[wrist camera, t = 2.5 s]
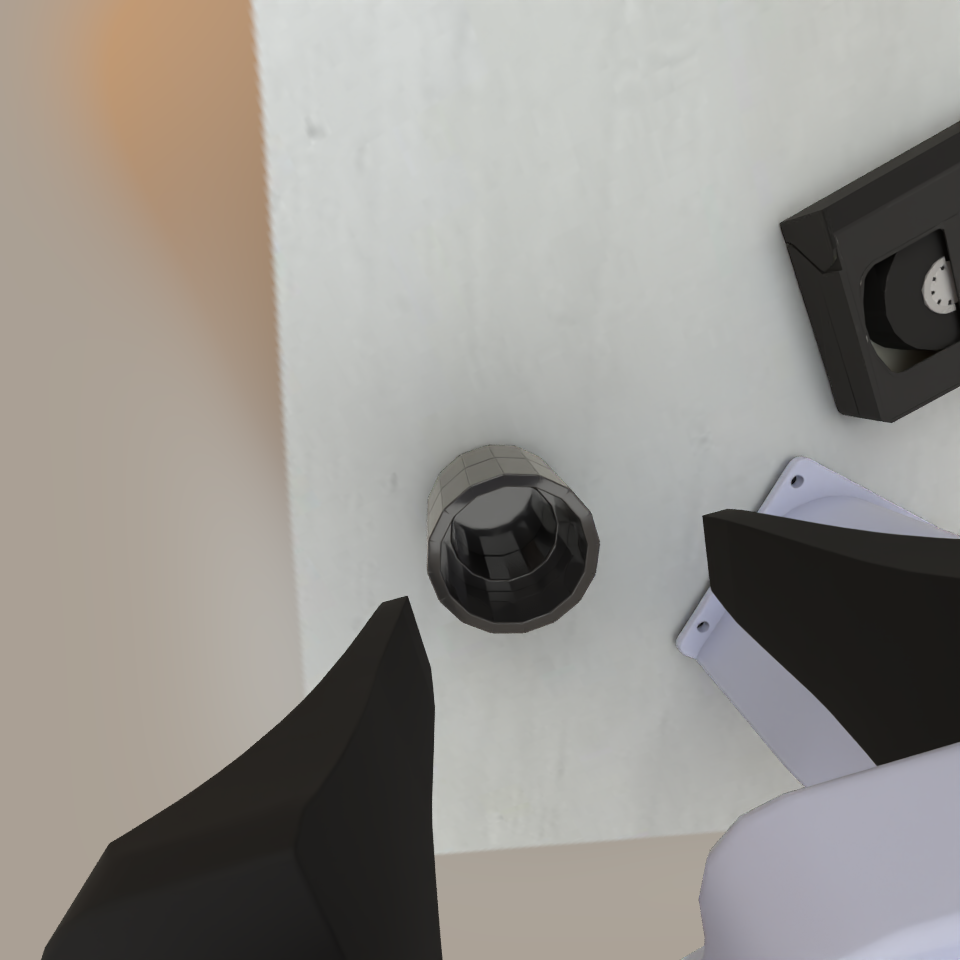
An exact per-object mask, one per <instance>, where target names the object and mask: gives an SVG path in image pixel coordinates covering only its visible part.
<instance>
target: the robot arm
mask: <svg viewBox="0 0 960 960" xmlns="http://www.w3.org/2000/svg"><path fill="white" fill-rule="evenodd" d="M795 476H796V478H797V479H796V481H795V482H794V483H793V484H792V485H791V481H792V479H793V478H794V477H795ZM702 517H703V526H704V535H705V543H706V552H707V561H708V570H709V579H710V587H709V589H708V590H707V592H706V593H705V595H704V597H703V598H702V600H701V601H700V603H699V604H698V606H697V608H696V609H695V611H694V612H693V614H692V615H691V617H690V619H689V620H688V622H687V623H686V625H685V626H684V628H683V630H682V631H681V633H680V634H679V636H678V637H677V640H676V647H677V648H678V650H679V651H680V652H681V653H682V654H683V655H685V656H688V657H690V658H693V659H695V660H697V662H698V663H699V664H700V665H701V666H702V668H703V669H704V670H705V671H706V672H707V674H708V675H709V676H710V677H711V678H712V680H713V681H714V682H715V683H716V684H717V686H718V687H719V688H720V689H721V690H722V692H723V693H724V694H725V695H726V696H727V698H728V699H729V700H730V701H731V702H732V704H733V705H734V706H735V707H736V709H737V710H738V711H739V712H740V713H741V715H742V716H743V717H744V718H745V719H746V721H747V722H748V723H749V724H750V725H751V727H752V728H753V729H754V730H755V731H756V733H757V734H758V735H759V736H760V737H761V739H762V740H763V741H764V742H765V743H766V745H767V746H768V747H769V748H770V749H771V751H772V752H773V753H774V754H775V755H776V757H777V758H778V759H779V760H780V761H781V762H782V763H783V765H784V766H785V767H786V768H787V769H788V770H789V771H790V772H791V773H792V774H793V775H794V776H795V777H796V778H797V779H798V780H799V781H800V782H801V783H802V784H803V785H804V786H805V788H801V789H798V790H794V791H791V792H787V793H784V794H782V795H780V796H778V797H776V798H774V799H772V800H770V801H768V802H766V803H764V804H762V805H760V806H758V807H756V808H754V809H752V810H751V811H749V812H747V813H745V814H743V815H741V816H739V817H738V818H737V820H736V821H735V822H734V823H733V824H732V825H731V827H730V828H729V829H728V830H727V831H726V832H725V834H724V835H723V836H722V837H721V838H720V839H719V841H718V842H717V843H716V844H715V845H714V846H713V847H712V849H711V850H710V852H709V855H708V857H707V861H706V865H705V871H704V875H703V880H702V886H701V891H700V896H699V903H700V910H701V917H702V923H703V929H704V936H705V944H704V946H703V947H701V948H699V949H698V950H696V951H694V952H692V953H691V954H689V955H687V956H685V957H684V958H682V959H680V960H960V536H959V535H956V534H953V533H951V532H948V531H945V530H943V529H940V528H938V527H937V526H935V525H933V524H932V523H930V522H928V521H926V520H924V519H922V518H920V517H918V516H917V515H915V514H913V513H911V512H909V511H907V510H905V509H904V508H902V507H900V506H898V505H896V504H894V503H892V502H890V501H889V500H887V499H885V498H883V497H881V496H879V495H877V494H876V493H874V492H872V491H870V490H868V489H866V488H864V487H862V486H861V485H859V484H857V483H855V482H853V481H851V480H849V479H848V478H846V477H844V476H842V475H840V474H838V473H836V472H834V471H833V470H831V469H829V468H827V467H825V466H823V465H821V464H820V463H818V462H816V461H814V460H812V459H810V458H807V457H803V456H798V457H795V458H793V459H792V460H791V461H790V462H789V463H788V465H787V466H786V468H785V470H784V471H783V473H782V474H781V476H780V477H779V479H778V481H777V482H776V484H775V485H774V487H773V488H772V490H771V492H770V493H769V495H768V496H767V498H766V499H765V501H764V503H763V504H762V506H761V507H760V509H759V510H758V512H751V511H744V510H735V509H725V510H722V511H718V512H714V513H711V514H707V515H703V516H702ZM701 622H704V623H703V625H702V626H700V627H698V625H699V624H700V623H701ZM434 722H435V704H434V692H433V683H432V673H431V667H430V663H429V660H428V657H427V654H426V651H425V648H424V645H423V642H422V639H421V636H420V633H419V629H418V626H417V623H416V620H415V617H414V614H413V611H412V608H411V605H410V602H409V598H408V596H405V597H401V598H397V599H394V600H390V601H386V602H383V603H381V605H380V606H379V607H378V608H377V610H376V611H375V612H374V614H373V615H372V616H371V618H370V619H369V621H368V622H367V623H366V625H365V626H364V628H363V629H362V630H361V632H360V633H359V634H358V636H357V637H356V638H355V640H354V641H353V642H352V644H351V645H350V646H349V648H348V649H347V650H346V652H345V653H344V654H343V655H342V656H341V658H340V659H339V660H338V661H337V662H336V664H335V665H334V666H333V667H332V668H331V670H330V671H329V672H328V673H327V674H326V676H325V677H324V678H323V679H322V680H321V682H320V683H319V684H318V685H317V686H316V687H315V688H314V689H313V690H312V691H311V692H310V693H309V694H308V696H307V697H306V698H305V699H304V700H303V701H302V702H301V703H300V704H299V705H298V706H297V707H296V708H295V709H293V710H292V711H291V712H290V714H288V715H287V716H286V717H285V718H284V719H283V720H282V721H281V722H280V723H279V724H277V725H276V726H275V727H274V728H273V729H272V730H270V731H269V732H268V733H267V734H266V735H265V736H263V737H262V738H261V739H260V740H259V741H257V742H256V743H255V744H254V745H253V746H252V747H250V748H249V749H248V750H247V751H246V752H245V753H243V754H242V755H241V756H240V757H238V758H237V759H236V760H234V761H233V762H232V763H230V764H229V765H228V766H226V767H225V768H224V769H223V770H221V771H220V772H219V773H217V774H216V775H214V776H213V777H212V778H210V779H209V780H207V781H206V782H205V783H203V784H202V785H200V786H199V787H198V788H196V789H195V790H193V791H192V792H190V793H189V794H187V795H186V796H184V797H183V798H181V799H180V800H179V801H177V802H175V803H174V804H172V805H171V806H169V807H168V808H166V809H164V810H163V811H161V812H160V813H158V814H156V815H155V816H153V817H152V818H150V819H148V820H147V821H145V822H144V823H142V824H140V825H139V826H137V827H136V828H134V829H132V830H131V831H129V832H128V833H126V834H124V835H123V836H121V837H119V838H118V839H116V840H114V841H113V842H111V843H110V844H109V845H108V846H107V848H106V850H105V852H104V853H103V855H102V856H101V858H100V860H99V862H98V863H97V865H96V866H95V868H94V869H93V871H92V872H91V874H90V876H89V877H88V879H87V880H86V882H85V884H84V886H83V887H82V889H81V890H80V892H79V893H78V895H77V897H76V898H75V900H74V902H73V903H72V905H71V907H70V908H69V910H68V911H67V913H66V915H65V916H64V918H63V920H62V921H61V923H60V924H59V926H58V927H57V929H56V931H55V932H54V934H53V936H52V937H51V939H50V940H49V942H48V944H47V945H46V947H45V950H44V953H43V955H42V959H41V960H442V949H441V938H440V926H439V914H438V900H437V888H436V875H435V860H434V844H433V829H432V787H433V756H434Z"/></svg>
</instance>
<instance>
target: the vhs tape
mask: <svg viewBox="0 0 960 960" xmlns="http://www.w3.org/2000/svg"><path fill="white" fill-rule="evenodd" d="M780 225H781V228H782V231H783V235H784V238H785V241H786V243H789V242H790V244H789V245H787V247H788V251H789V254H790V257H791V260H792V263H793V267H794V270H795V273H796V276H797V279H798V282H799V286H800V289H801V292H802V295H803V298H804V301H805V305H806V308H807V311H808V314H809V317H810V321H811V324H812V327H813V330H814V333H815V336H816V340H817V343H818V346H819V349H820V352H821V356H822V359H823V362H824V365H825V368H826V371H827V375H828V376H829V379H830V382H831V385H832V387H831V388H832V391H833V395H834V398H835V401H836V405H837V408H838V411H839V412H841V413H842V414H843V415H848V416H853V417H859V418H864V419H870V420H876V421H882V422H889V423H893V422H895V421H896V420H898V419H900V418H902V417H904V416H906V415H908V414H909V413H911V412H913V411H915V410H917V409H919V408H920V407H922V406H924V405H926V404H928V403H930V402H932V401H933V400H935V399H937V398H939V397H941V396H943V395H945V394H946V393H948V392H950V391H952V390H954V389H956V388H958V387H959V386H960V121H959V122H957V123H956V124H954V125H952V126H950V127H949V128H947V129H945V130H943V131H942V132H940V133H938V134H936V135H934V136H933V137H931V138H929V139H927V140H926V141H924V142H922V143H920V144H919V145H917V146H915V147H913V148H912V149H910V150H908V151H906V152H904V153H903V154H901V155H899V156H897V157H896V158H894V159H892V160H890V161H889V162H887V163H885V164H883V165H882V166H880V167H878V168H876V169H874V170H873V171H871V172H869V173H867V174H866V175H864V176H862V177H860V178H859V179H857V180H855V181H853V182H852V183H850V184H848V185H846V186H844V187H843V188H841V189H839V190H837V191H836V192H834V193H832V194H830V195H829V196H827V197H825V198H823V199H822V200H820V201H818V202H816V203H814V204H813V205H811V206H809V207H807V208H806V209H804V210H802V211H800V212H799V213H797V214H795V215H793V216H792V217H790V218H788V219H786V220H784V221H783V222H781V223H780Z"/></svg>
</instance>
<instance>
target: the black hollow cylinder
mask: <svg viewBox="0 0 960 960" xmlns="http://www.w3.org/2000/svg"><path fill="white" fill-rule="evenodd" d="M599 547H600V541H599V537H598V534H597V530H596V527H595V524H594V520H593V517H592V514H591V512H590V511H589V509H588V508H587V507H586V506H585V505H584V504H583V503H582V501H581V500H580V499H579V498H578V497H577V496H576V495H575V493H574V492H573V491H572V490H571V489H570V488H569V487H568V486H567V485H566V484H565V483H564V481H563V480H562V479H561V478H560V477H559V476H558V475H557V474H556V473H555V472H554V471H553V470H552V469H551V468H550V467H549V466H548V465H547V463H546V462H545V461H544V460H543V459H542V458H540V457H539V456H537V455H534V454H532V453H530V452H528V451H526V450H524V449H522V448H519V447H516V446H509V445H488V446H483V447H480V448H478V449H475V450H472V451H469V452H466V453H464V454H462V455H459V456H458V457H457V458H456V459H455V460H454V461H453V462H452V463H450V464H449V465H448V466H447V467H446V468H445V469H444V470H443V471H442V472H440V474H439V475H438V478H437V480H436V482H435V484H434V486H433V488H432V490H431V492H430V494H429V496H428V502H427V574H428V576H429V578H430V581H431V583H432V585H433V588H434V590H435V593H436V595H437V597H438V600H439V601H440V602H441V603H442V604H443V605H444V606H445V607H446V608H447V609H448V610H449V611H450V612H451V613H453V614H454V615H455V616H456V617H457V618H458V619H459V620H460V621H461V622H463V623H465V624H468V625H471V626H473V627H476V628H479V629H481V630H484V631H487V632H489V633H526V632H529V631H532V630H534V629H537V628H540V627H543V626H545V625H548V624H551V623H554V621H557V620H558V619H559V618H560V617H562V616H563V615H564V614H565V613H567V612H568V611H569V610H570V609H571V608H573V607H574V606H575V605H576V604H577V603H579V601H580V600H581V599H582V597H583V595H584V594H585V592H586V590H587V588H588V587H589V585H590V583H591V581H592V580H593V578H594V576H595V573H596V569H597V561H598V554H599Z"/></svg>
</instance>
